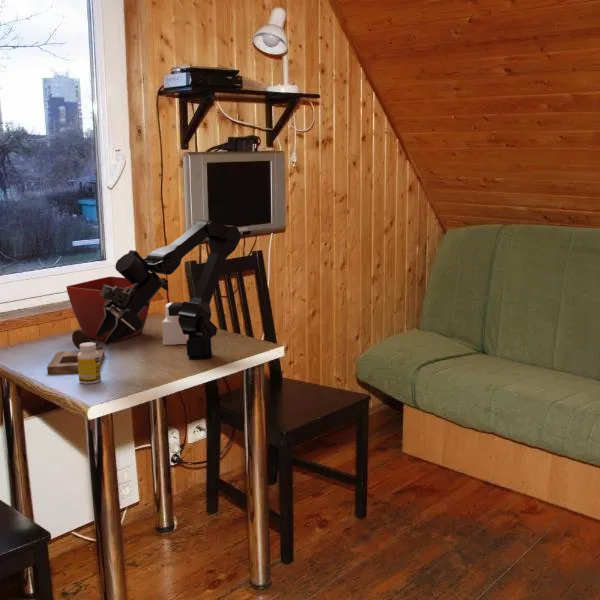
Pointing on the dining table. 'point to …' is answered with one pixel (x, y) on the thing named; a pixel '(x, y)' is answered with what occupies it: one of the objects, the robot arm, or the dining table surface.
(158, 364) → the dining table surface
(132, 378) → the dining table surface
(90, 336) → the plant pot
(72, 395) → the dining table surface
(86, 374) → the supplement bottle
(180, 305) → the medicine bottle
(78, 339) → the compass
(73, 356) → the socket board
